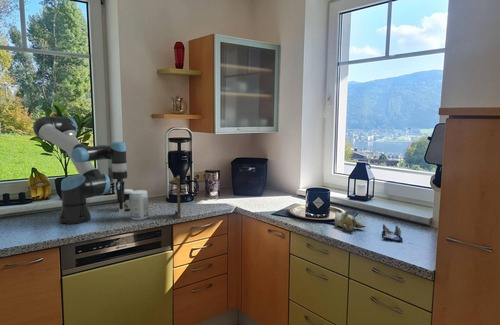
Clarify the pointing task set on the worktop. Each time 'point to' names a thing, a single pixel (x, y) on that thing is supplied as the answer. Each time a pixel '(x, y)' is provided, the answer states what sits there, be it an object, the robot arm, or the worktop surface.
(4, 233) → the worktop surface
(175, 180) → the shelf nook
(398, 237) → the twin peaked rock
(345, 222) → the ceramic sculpture
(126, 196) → the spread jar
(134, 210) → the supplement tub
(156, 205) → the worktop surface
